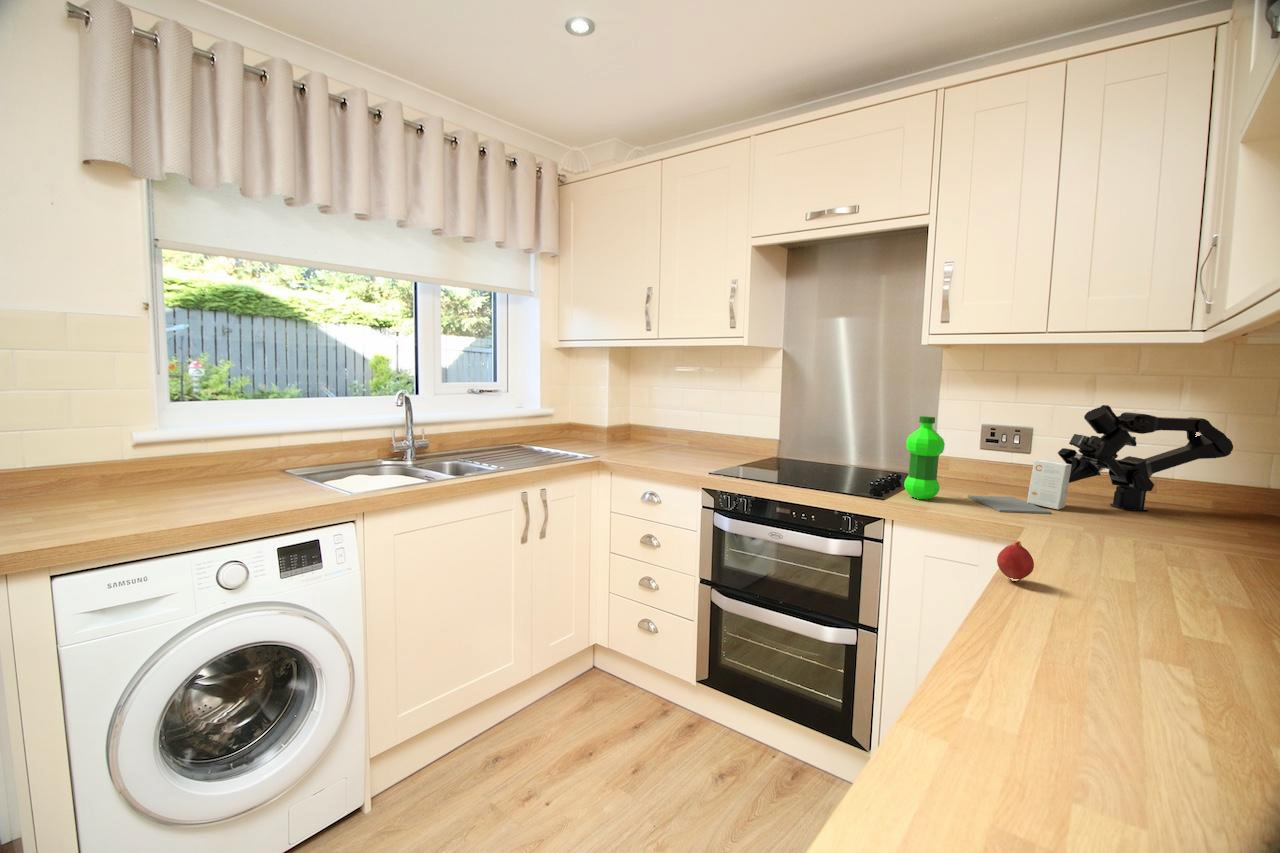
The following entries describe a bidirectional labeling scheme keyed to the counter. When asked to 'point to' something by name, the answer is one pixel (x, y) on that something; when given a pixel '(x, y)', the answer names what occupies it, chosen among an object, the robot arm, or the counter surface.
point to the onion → (1015, 561)
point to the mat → (1008, 504)
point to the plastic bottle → (923, 460)
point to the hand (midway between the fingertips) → (1067, 481)
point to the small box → (1049, 484)
